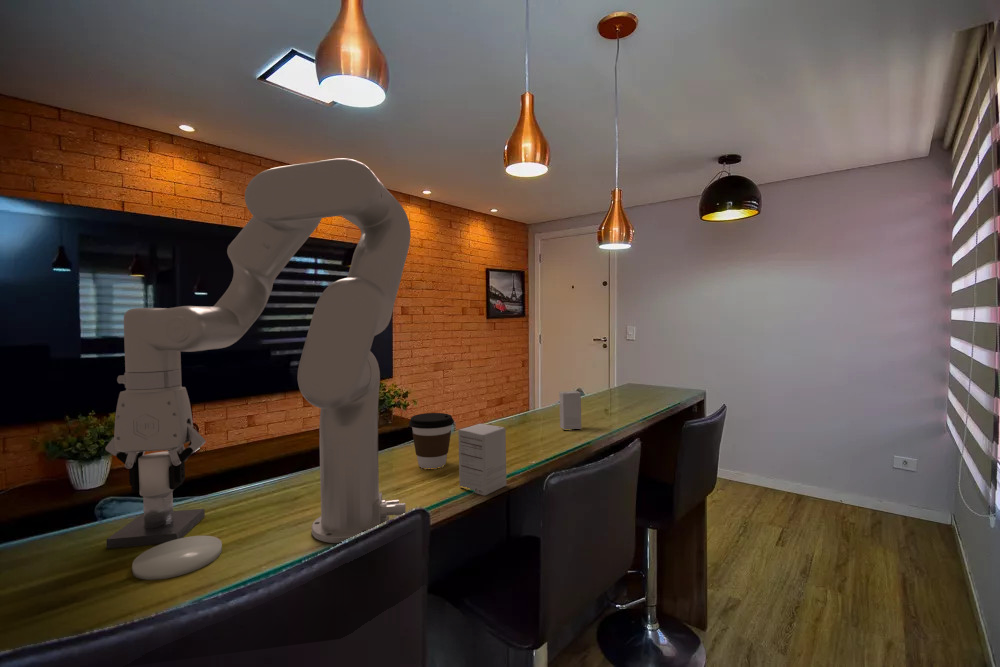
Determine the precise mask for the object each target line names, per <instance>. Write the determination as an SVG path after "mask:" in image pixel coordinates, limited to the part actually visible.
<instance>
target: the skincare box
mask: <svg viewBox="0 0 1000 667" xmlns="http://www.w3.org/2000/svg"><path fill="white" fill-rule="evenodd" d="M558 394H559V395H558V398H559V428H560V427H561V428H563V429H564V430H565V429H581V430H582V395H581V394H582V393H581V392H579V391H578V390H568V391H566V390H565V391H559V393H558ZM561 428H560V429H561Z"/></svg>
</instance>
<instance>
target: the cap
mask: <svg viewBox="0 0 1000 667" xmlns="http://www.w3.org/2000/svg"><path fill="white" fill-rule="evenodd" d="M138 465H139V489H140V490H139V495H140V497H143V496H155V495H161V494H165V493H168V492H171V491H172V492H174V490H176V489H172V490H171V489H170V488H169V467H170V466H171V465H172V461H171V458H170V455H169V453H168V450H164V451H155V452H152V453H147V454H144V455H143V456H141V457H139V458H138Z"/></svg>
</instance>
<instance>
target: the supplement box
mask: <svg viewBox="0 0 1000 667" xmlns="http://www.w3.org/2000/svg"><path fill="white" fill-rule="evenodd" d="M506 434H507V433H506V427H503V426H499V425H490V424H485V423H478V424H474V425H470V426H468V427H464V428H463V427H462V428H460V429H458V464H459V465H458V468H459V470H458V472H459V473H458V474H459V476H458V477H459V478H458V479H459V487H460V486H463V487H467V488H470V489H472V490H474V491H475V493H474V494H477V495H481V496H484V497H485V496H487V495H490V494H491V493H494V492H496V491H497V490H500V489H502V488H504V487H506V486H507V448H506V447H507V445H506V444H507V441H506V436H507V435H506Z"/></svg>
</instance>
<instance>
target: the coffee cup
mask: <svg viewBox="0 0 1000 667" xmlns="http://www.w3.org/2000/svg"><path fill="white" fill-rule="evenodd" d="M454 424H455V420H454V418H453V416H452V415H451V414H449V413H443V412H426V413H419V414H415V415H413V416H411V417H410V420H409V421H408V426H409V427H411V428H412V432H411V433H412V438H413V439H412V440H413V444H414V450H415V455H416V458H417V462H418V463H417V464H418V466H419V467H421V468H420V469H422V468H427V469H428V468H430V469H431V468H438V467H442V466H443V465H446V463H447V460H448V459H447V457H448V453H449V448H450V442H451V436H452V425H454ZM442 468H443V467H442Z"/></svg>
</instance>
